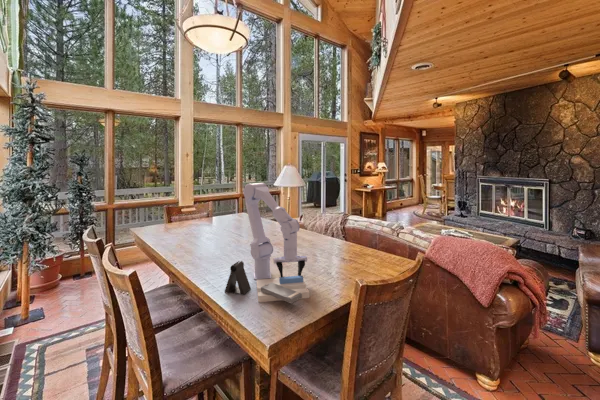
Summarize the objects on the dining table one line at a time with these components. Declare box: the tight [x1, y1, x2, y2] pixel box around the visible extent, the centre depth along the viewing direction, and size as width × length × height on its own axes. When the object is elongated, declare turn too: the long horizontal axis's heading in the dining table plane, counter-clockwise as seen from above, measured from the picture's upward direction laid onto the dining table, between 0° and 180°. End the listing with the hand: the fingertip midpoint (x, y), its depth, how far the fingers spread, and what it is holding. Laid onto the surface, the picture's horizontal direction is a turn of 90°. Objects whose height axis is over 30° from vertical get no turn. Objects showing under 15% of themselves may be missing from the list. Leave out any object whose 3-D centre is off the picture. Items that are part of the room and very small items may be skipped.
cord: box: [279, 275, 304, 284], centre depth 124 cm, size 2×10×2 cm, turn 102°
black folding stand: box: [224, 260, 252, 296], centre depth 120 cm, size 9×6×12 cm, turn 73°
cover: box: [261, 283, 302, 304], centre depth 111 cm, size 6×17×2 cm, turn 50°
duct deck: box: [256, 277, 310, 303], centre depth 120 cm, size 16×20×2 cm
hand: (290, 278), depth 126 cm, fingers open, 7 cm apart
